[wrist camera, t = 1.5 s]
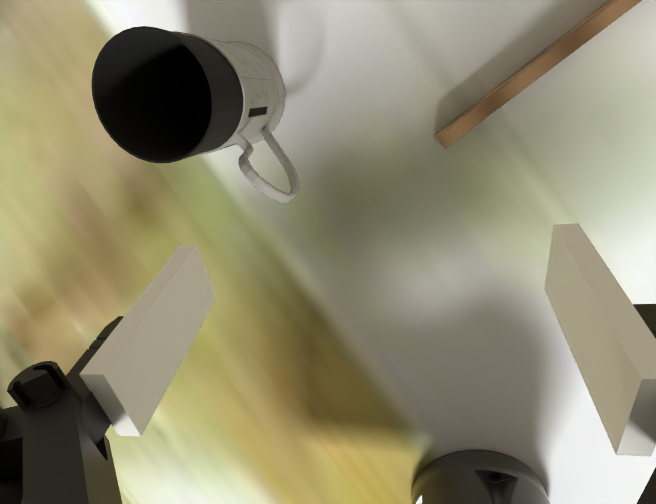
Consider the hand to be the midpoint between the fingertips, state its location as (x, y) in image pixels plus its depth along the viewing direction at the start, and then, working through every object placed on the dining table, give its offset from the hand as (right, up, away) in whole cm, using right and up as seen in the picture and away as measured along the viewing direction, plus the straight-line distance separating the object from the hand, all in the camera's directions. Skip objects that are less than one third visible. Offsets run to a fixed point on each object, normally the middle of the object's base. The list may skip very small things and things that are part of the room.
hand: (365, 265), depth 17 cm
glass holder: (-7, +13, +23) cm, 28 cm away
